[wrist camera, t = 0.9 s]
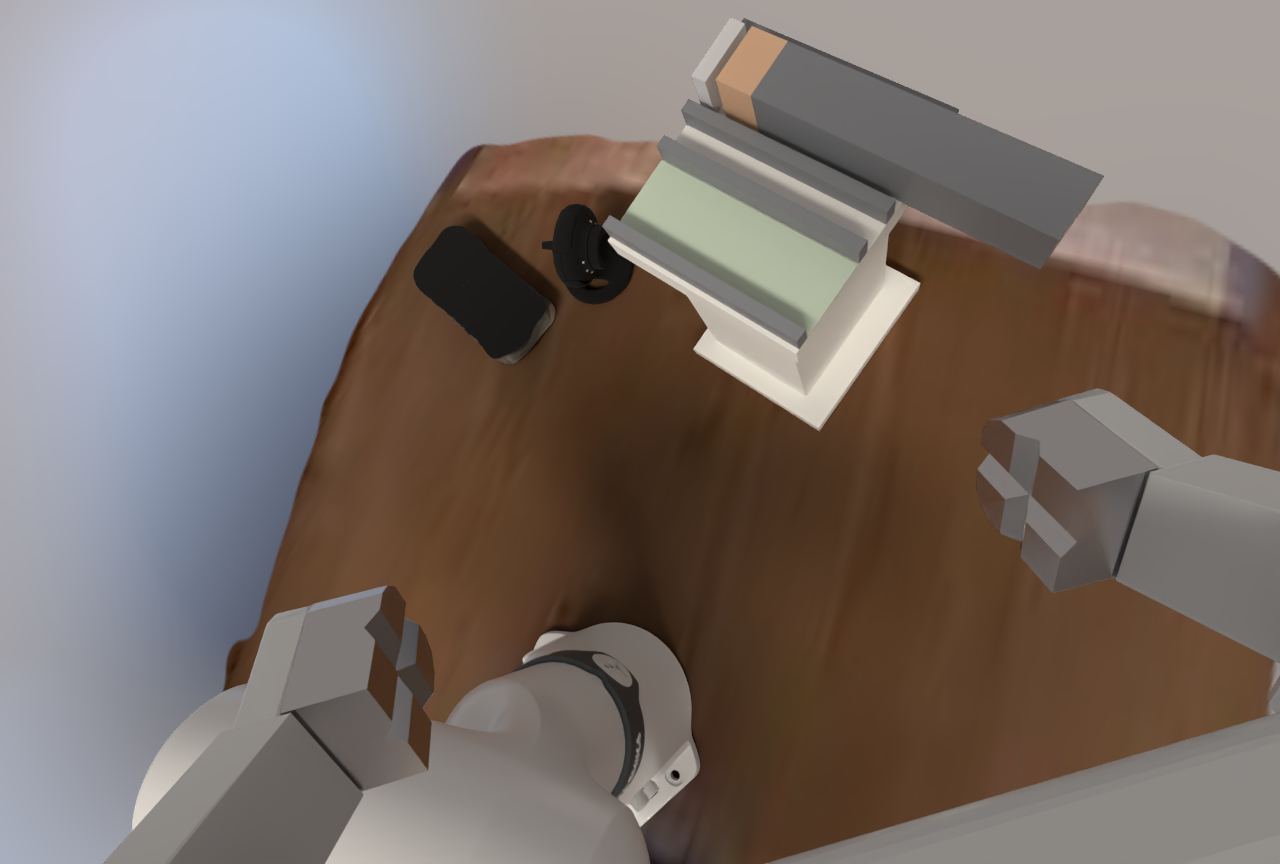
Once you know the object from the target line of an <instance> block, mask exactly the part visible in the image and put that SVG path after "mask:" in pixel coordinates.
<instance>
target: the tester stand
mask: <svg viewBox="0 0 1280 864" xmlns="http://www.w3.org/2000/svg"><path fill="white" fill-rule="evenodd" d="M752 26H753V27H756V28H758V29H760V30H763V31H765V32H767V33H770V34H772V35H775V36H777V37H779V38H782V39H784V40H786V41H789V42H791V43H793V44H796V45H798V46H800V47H803V48H805V49H807V50H810V51H812V52H814V53H817V54H819V55H821V56H824V57H826V58H828V59H831V60H833V61H835V62H838V63H840V64H843V65H845V66H847V67H850V68H852V69H854V70H857V71H859V72H861V73H864V74H866V75H868V76H871V77H873V78H875V79H878V80H880V81H882V82H885V83H887V84H889V85H892V86H894V87H896V88H899V89H901V90H904V91H906V92H908V93H911V94H913V95H915V96H918V97H920V98H922V99H925V100H927V101H929V102H932V103H934V104H936V105H939V106H941V107H943V108H946V109H948V110H950V111H953V112H955V113H957V114H958V111H959V109H957V108H955V107H952V106H950V105H948V104H945V103H943V102H941V101H938V100H936V99H933V98H931V97H929V96H926V95H924V94H922V93H919V92H917V91H915V90H912V89H910V88H908V87H905V86H903V85H900V84H898V83H896V82H893V81H891V80H889V79H886V78H884V77H881V76H879V75H877V74H874V73H872V72H870V71H867V70H865V69H862V68H860V67H858V66H856V65H853V64H851V63H848V62H846V61H844V60H841V59H839V58H837V57H834V56H832V55H830V54H827V53H825V52H822V51H820V50H818V49H815V48H813V47H811V46H808V45H806V44H803V43H801V42H799V41H797V40H794V39H792V38H790V37H787V36H785V35H782V34H780V33H777V32H775V31H773V30H771V29H768V28H766V27H763V26H761V25H759V24H756V23H754V22H752V21H749V20H747V19H745V18H744V19H743V20H742V22H740V21H737V20H735V19H732V18H730V20H729V21H728V22H727V24H726V25H725V27H724V28H723V30H722V31H721V33H720V34H719V35H718V37H717V39H716V40H715V41H714V43H713V44H712V46H711V47H710V49H709V50H708V52H707V53H706V55H705V56H704V58H703V59H702V61H701V62H700V63H699V65H698V66H697V68H696V69H695V71H694V72H693V74H692V75H691V77H692V80H693V83H694V85H695V88H696V91H697V94H698V97H699V100H700V103H701V104H698V103H696V102H694V101H692V100H689V99H688V101H687V102H686V104H685V105H684V107H683V108H682V110H681V111H682V114H683V116H684V119H685V121H686V124H687V125H686V127H685V128H684V129H683V131H682V132H681V134H680V136H679V137H678V138H677V140H676V141H674V140H672V139H670V138H669V137H667V136H665V135H664V136H663V138H662V139H661V140H660V142H659V143H658V145H657V148H658V150H659V152H660V154H661V156H662V158H663V160H661V162H660V163H659V165H658V166H657V168H656V169H655V170H654V172H653V173H652V175H651V176H650V178H649V179H648V181H647V182H646V184H645V185H644V187H643V188H642V190H641V191H640V192H639V194H638V195H637V197H636V198H635V200H634V201H633V203H632V204H631V206H630V207H629V209H628V210H627V212H626V213H625V214H624V216H623V217H622V219H621V220H620V221H619V220H617V219H615V218H614V217H612V216H610V215H609V217H608V218H607V220H606V221H605V223H604V224H603V226H602V227H603V228H604V229H605V230H606V232H607V233H608V234H609V236H610V238H609V239H608V242H609V243H610V244H611V246H612V247H613V248H614V249H615V251H616V252H617V253H618V254H619V255H621V256H623V257H624V258H626V259H628V260H629V261H631V262H633V263H634V264H636V265H637V266H639V267H641V268H642V269H644V270H646V271H647V272H649V273H651V274H652V275H654V276H656V277H657V278H659V279H661V280H662V281H664V282H666V283H667V284H669V285H671V286H672V287H674V288H676V289H677V290H679V291H680V292H682V293H684V294H685V295H687V297H688V298H689V300H690V301H691V303H692V304H693V306H694V307H695V309H696V310H697V312H698V313H699V315H700V316H701V318H702V319H703V321H704V323H705V324H706V326H707V327H708V329H707V330H706V332H705V333H704V334H703V336H702V337H701V339H700V340H699V342H698V343H697V345H696V346H695V347H694V350H695V352H696V353H697V354H699V355H700V356H702V357H703V358H705V359H707V360H708V361H710V362H711V363H713V364H714V365H716V366H718V367H719V368H721V369H722V370H724V371H725V372H727V373H729V374H730V375H732V376H733V377H735V378H736V379H738V380H740V381H741V382H743V383H744V384H746V385H747V386H749V387H751V388H752V389H754V390H755V391H757V392H758V393H760V394H762V395H763V396H765V397H766V398H768V399H769V400H771V401H773V402H774V403H776V404H777V405H779V406H780V407H782V408H784V409H785V410H787V411H788V412H790V413H791V414H793V415H795V416H796V417H798V418H799V419H801V420H802V421H804V422H806V423H807V424H809V425H810V426H812V427H813V428H815V429H817V430H818V431H820V430H821V428H822V427H823V425H824V424H825V423H826V421H827V420H828V418H829V417H830V415H831V414H832V413H833V411H834V410H835V408H836V407H837V405H838V404H839V403H840V401H841V400H842V398H843V397H844V395H845V394H846V393H847V391H848V390H849V388H850V387H851V385H852V384H853V383H854V381H855V380H856V378H857V377H858V375H859V374H860V373H861V371H862V370H863V368H864V367H865V365H866V364H867V363H868V361H869V360H870V358H871V357H872V355H873V354H874V353H875V351H876V350H877V348H878V347H879V345H880V344H881V343H882V341H883V340H884V338H885V337H886V335H887V334H888V333H889V331H890V330H891V328H892V327H893V325H894V324H895V323H896V321H897V320H898V318H899V317H900V315H901V314H902V313H903V311H904V310H905V308H906V307H907V305H908V304H909V303H910V301H911V300H912V298H913V297H914V295H915V294H916V293H917V291H918V290H919V287H920V283H919V282H917V281H915V280H913V279H912V278H910V277H908V276H906V275H904V274H902V273H900V272H898V271H896V270H894V269H892V268H891V267H889V266H887V265H886V256H887V246H888V236H889V233H890V232H891V230H892V229H893V228H894V226H895V225H896V223H897V222H898V220H899V219H900V217H901V216H902V215H903V213H904V212H905V210H906V209H907V207H908V205H906V204H904V203H902V202H900V201H898V200H896V199H894V198H892V197H890V196H888V195H886V194H884V193H882V192H880V191H877V190H875V189H873V188H871V187H869V186H867V185H865V184H863V183H861V182H859V181H857V180H855V179H853V178H851V177H849V176H847V175H845V174H843V173H840V172H838V171H836V170H834V169H832V168H830V167H828V166H826V165H824V164H822V163H820V162H818V161H816V160H814V159H812V158H810V157H808V156H805V155H803V154H801V153H799V152H797V151H795V150H793V149H791V148H789V147H787V146H785V145H783V144H781V143H779V142H777V141H775V140H773V139H771V138H768V137H766V136H764V135H762V134H760V133H758V132H756V131H754V130H752V129H750V128H748V127H746V126H744V125H742V124H740V123H738V122H736V121H734V120H731V119H729V118H727V117H726V113H725V110H724V107H723V103H722V100H721V97H720V93H719V90H718V86H717V83H716V80H715V79H716V78H717V77H718V75H719V74H720V72H721V71H722V69H723V68H724V66H725V65H726V63H727V62H728V60H729V59H730V57H731V56H732V55H733V53H734V52H735V50H736V49H737V47H738V46H739V44H740V43H741V41H742V40H743V38H744V37H745V35H746V34H747V33H748V31H749V30H750V28H751V27H752Z"/></svg>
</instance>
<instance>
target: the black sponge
mask: <svg viewBox="0 0 1280 864" xmlns="http://www.w3.org/2000/svg"><path fill="white" fill-rule="evenodd" d="M414 280H415V283H416V285H417V287H418V288H419V289H420V290H421V291H422V292H423V293H424V294H425V295H426V296H428V297H429V298H430V299H432V301H433V302H434V303H435V304H436V305H437V306H439V307H440V308H441V309H442V310H443V311H444V312H445V313H446V314H448V315H449V316H450V317H451V318H452V319H453V320H454V321H455V322H456V323H457V324H458V325H460V326H461V327H462V328H463V329H464V330H465V331H466V332H467V333H468V334H469V335H470V336H471V337H472V338H474V339H475V340H476V341H477V342H478V343H479V344H480V345H481V346H482V347H483V348H484V349H485V351H486V352H487V354H488V355H489V356H490V357H492V358H493V359H495V360H496V361H498V362H501V363H503V364H507V365H512V364H514V363H516V362H518V361H519V360H520V359H521V358H522V357H523V356H524V355H525V354H527V353H528V352H529V350H530V349H531V348H532V347H533V346H534V344H535V343H536V342H537V341H538V339H539V338H540V337H541V336H542V334H543V333H544V332H545V331H546V330H547V329H548V328H549V326H550V325H551V324H552V322H553V321H554V318H555V313H556V312H555V307H554V306H553V304H552V303H551V301H550V300H548V299H547V298H545V297H544V296H542V295H541V294H539V293H538V292H537V291H536V290H535V289H534V288H532V287H531V286H530V285H529V284H528V283H526V282H525V281H524V280H523V279H522V278H521V277H520V276H519V275H517V274H516V273H515V272H514V271H513V270H511V269H510V268H509V267H508V266H507V265H505V264H504V263H503V262H502V261H501V260H500V259H499V258H498V257H496V256H495V255H494V254H493V253H492V252H490V251H489V250H488V249H487V248H486V247H485V246H484V243H483V242H482V241H481V239H480V238H479V237H478V236H477V235H475V234H473V233H471V232H469V231H468V230H466V229H465V228H463V227H462V226H451V227H448V228H446V229H444V230H443V231H442V232H441V234H440V235H439V237H438V238H437V240H436V241H435V242H434V244H433V245H432V246H431V247H430V248H429V249H428V251H427V252H426V253H425V254H424V255H423V257H422V258H421V259H420V261H419V263H418V264H417V266H416V268H415V270H414Z"/></svg>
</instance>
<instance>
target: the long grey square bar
mask: <svg viewBox="0 0 1280 864" xmlns="http://www.w3.org/2000/svg"><path fill="white" fill-rule="evenodd" d="M715 80H716V83H717V86H718V90H719V93H720V97H721V100H722V103H723V107H724V110H725V113H726V117H727V118H729V119H731V120H734V121H736V122H738V123H740V124H742V125H744V126H746V127H748V128H750V129H752V130H754V131H756V132H758V133H760V134H762V135H764V136H766V137H768V138H771V139H773V140H775V141H777V142H779V143H781V144H783V145H785V146H787V147H789V148H791V149H793V150H795V151H797V152H799V153H801V154H803V155H805V156H808V157H810V158H812V159H814V160H816V161H818V162H820V163H822V164H824V165H826V166H828V167H830V168H832V169H834V170H836V171H838V172H840V173H843V174H845V175H847V176H849V177H851V178H853V179H855V180H857V181H859V182H861V183H863V184H865V185H867V186H869V187H871V188H873V189H875V190H877V191H880V192H882V193H884V194H886V195H888V196H890V197H892V198H894V199H896V200H898V201H900V202H902V203H904V204H906V205H908V206H910V207H912V208H914V209H917V210H919V211H921V212H923V213H925V214H927V215H929V216H931V217H933V218H935V219H937V220H939V221H941V222H943V223H945V224H947V225H949V226H952V227H954V228H956V229H958V230H960V231H962V232H964V233H966V234H968V235H970V236H972V237H974V238H976V239H978V240H980V241H982V242H984V243H986V244H989V245H991V246H993V247H995V248H997V249H999V250H1001V251H1003V252H1005V253H1007V254H1009V255H1011V256H1013V257H1015V258H1017V259H1019V260H1021V261H1024V262H1026V263H1028V264H1030V265H1032V266H1034V267H1036V268H1038V269H1041V268H1042V266H1043V265H1044V263H1045V262H1046V261H1047V259H1048V258H1049V256H1050V255H1051V253H1052V252H1053V251H1054V249H1055V248H1056V246H1057V245H1058V244H1059V242H1060V241H1061V239H1062V238H1063V236H1064V235H1065V234H1066V232H1067V231H1068V229H1069V228H1070V227H1071V225H1072V224H1073V222H1074V221H1075V219H1076V218H1077V217H1078V215H1079V214H1080V212H1081V211H1082V209H1083V208H1084V206H1085V205H1086V203H1087V202H1088V200H1089V199H1090V197H1091V196H1092V194H1093V193H1094V191H1095V189H1096V188H1097V186H1098V185H1099V183H1100V182H1101V180H1102V179H1103V177H1104V176H1103V175H1101V174H1098V173H1096V172H1093V171H1091V170H1089V169H1086V168H1084V167H1082V166H1079V165H1077V164H1075V163H1072V162H1070V161H1068V160H1065V159H1063V158H1061V157H1058V156H1056V155H1054V154H1051V153H1049V152H1047V151H1044V150H1042V149H1040V148H1037V147H1035V146H1032V145H1030V144H1028V143H1026V142H1023V141H1021V140H1018V139H1016V138H1014V137H1011V136H1009V135H1007V134H1004V133H1002V132H999V131H997V130H995V129H993V128H990V127H988V126H985V125H983V124H981V123H978V122H976V121H974V120H972V119H969V118H967V117H964V116H962V115H960V114H957V113H955V112H953V111H950V110H948V109H946V108H943V107H941V106H939V105H936V104H934V103H932V102H929V101H927V100H925V99H922V98H920V97H918V96H915V95H913V94H911V93H908V92H906V91H904V90H901V89H899V88H896V87H894V86H892V85H889V84H887V83H885V82H882V81H880V80H878V79H875V78H873V77H871V76H868V75H866V74H864V73H861V72H859V71H857V70H854V69H852V68H850V67H847V66H845V65H843V64H840V63H838V62H835V61H833V60H831V59H828V58H826V57H824V56H821V55H819V54H817V53H814V52H812V51H810V50H807V49H805V48H803V47H800V46H798V45H796V44H793V43H791V42H789V41H786V40H784V39H782V38H779V37H777V36H775V35H772V34H770V33H767V32H765V31H763V30H760V29H758V28H756V27H753V26H752V27H751V28H750V30H749V31H748V33H747V34H746V35H745V37H744V38H743V40H742V41H741V43H740V44H739V46H738V47H737V49H736V50H735V52H734V53H733V55H732V56H731V57H730V59H729V60H728V62H727V63H726V65H725V66H724V68H723V69H722V71H721V72H720V74H719V75H718V77H717V78H716V79H715Z"/></svg>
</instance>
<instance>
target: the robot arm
mask: <svg viewBox="0 0 1280 864" xmlns="http://www.w3.org/2000/svg"><path fill="white" fill-rule="evenodd" d="M981 445H982V446H983V447H984V448H985V449H986V450H987V451H988V452H989V453H990V454H989V455H988V456H987V458H986V459H985V460H984V461H983V463H982V464H981V465H980V467H979V468H978V469H977V481H976V490H977V493H978V497H979V501H980V505H981V507H982V509H983V511H984V513H985V514H986V516H987V518H988V520H989V521H990V522H991V523H992V525H993V526H994V527H995V528H996V529H997V531H998V532H999V533H1000V534H1003V535H1005V536H1008V537H1010V538H1013V539H1015V540H1018V541H1020V542H1021V549H1020V557H1021V558H1022V559H1023V560H1024V562H1025V563H1026V564H1027V565H1028V566H1029V567H1030V568H1031V569H1032V571H1033V572H1034V573H1035V574H1036V575H1037V576H1038V577H1039V578H1040V580H1041V581H1042V582H1043V583H1044V584H1045V585H1046V586H1047V587H1048V589H1049V590H1050V591H1051V592H1052V593H1055V592H1059V591H1063V590H1067V589H1071V588H1075V587H1079V586H1083V585H1086V584H1090V583H1094V582H1098V581H1102V580H1106V579H1110V578H1114V577H1116V581H1118V582H1120V583H1122V584H1124V585H1126V586H1128V587H1130V588H1132V589H1134V590H1136V591H1138V592H1140V593H1142V594H1144V595H1146V596H1148V597H1150V598H1152V599H1154V600H1155V601H1157V602H1159V603H1161V604H1163V605H1165V606H1167V607H1169V608H1171V609H1173V610H1175V611H1177V612H1179V613H1181V614H1183V615H1185V616H1187V617H1189V618H1191V619H1193V620H1195V621H1197V622H1199V623H1201V624H1203V625H1205V626H1207V627H1209V628H1211V629H1213V630H1215V631H1217V632H1219V633H1221V634H1223V635H1225V636H1227V637H1229V638H1231V639H1233V640H1235V641H1237V642H1239V643H1241V644H1243V645H1245V646H1247V647H1248V648H1250V649H1252V650H1254V651H1256V652H1258V653H1260V654H1262V655H1264V656H1266V657H1268V658H1270V659H1272V660H1274V661H1276V662H1278V663H1280V472H1278V471H1274V470H1271V469H1267V468H1263V467H1259V466H1255V465H1252V464H1248V463H1244V462H1240V461H1237V460H1233V459H1229V458H1225V457H1222V456H1218V455H1210V456H1206V457H1201V456H1199V455H1198V454H1196V453H1195V452H1194V451H1192V450H1191V449H1189V448H1188V447H1187V446H1185V445H1184V444H1182V443H1181V442H1180V441H1178V440H1177V439H1175V438H1174V437H1173V436H1171V435H1170V434H1168V433H1167V432H1166V431H1164V430H1163V429H1161V428H1160V427H1159V426H1157V425H1156V424H1154V423H1153V422H1151V421H1150V420H1149V419H1147V418H1146V417H1144V416H1143V415H1142V414H1140V413H1139V412H1137V411H1136V410H1135V409H1133V408H1132V407H1130V406H1129V405H1128V404H1126V403H1125V402H1123V401H1122V400H1121V399H1119V398H1118V397H1116V396H1115V395H1114V394H1112V393H1111V392H1108V391H1105V390H1101V389H1094V390H1090V391H1087V392H1083V393H1080V394H1077V395H1073V396H1070V397H1066V398H1063V399H1060V400H1059V401H1054V402H1050V403H1047V404H1043V405H1040V406H1036V407H1032V408H1029V409H1025V410H1022V411H1018V412H1015V413H1011V414H1008V415H1004V416H1001V417H997V418H994V419H990V420H988V422H987V423H986V425H985V426H984V428H983V430H982V437H981ZM405 607H406V602H405V601H404V599H403V598H402V596H401V595H400V593H399V592H398V590H397V589H396V587H394V586H383V587H379V588H375V589H371V590H367V591H363V592H359V593H355V594H351V595H347V596H343V597H339V598H335V599H331V600H327V601H323V602H319V603H315V604H314V605H312V606H308V607H303V608H299V609H295V610H291V611H287V612H283V613H278V614H276V615H275V616H274V617H273V618H272V619H271V620H270V621H269V622H268V623H267V625H266V628H265V631H264V635H263V638H262V641H261V644H260V647H259V650H258V653H257V656H256V659H255V663H254V666H253V669H252V672H251V675H250V678H249V681H248V684H244V685H240V686H237V687H234V688H231V689H229V690H226V691H224V692H222V693H220V694H219V695H217V696H215V697H213V698H212V699H210V700H209V701H207V702H206V703H205V704H203V705H202V706H201V707H199V708H198V709H197V710H196V711H195V712H193V713H192V714H191V715H190V716H189V717H187V718H186V719H185V720H184V721H183V722H182V723H181V724H180V725H179V727H178V728H177V729H176V730H175V731H174V732H173V733H172V735H170V737H169V738H168V739H167V741H166V742H165V743H164V745H163V746H162V747H161V749H160V750H159V752H158V753H157V755H156V757H155V758H154V760H153V761H152V763H151V765H150V767H149V769H148V771H147V773H146V775H145V778H144V781H143V784H142V786H141V788H140V791H139V794H138V797H137V801H136V804H135V809H134V814H133V822H132V832H131V833H130V834H129V835H128V836H127V837H126V839H125V840H124V841H123V842H122V843H121V844H120V845H119V846H118V848H117V849H116V850H115V851H114V852H113V853H112V854H111V855H110V857H108V859H107V860H106V861H105V862H104V863H103V864H650V859H649V855H648V851H647V847H646V843H645V840H644V837H643V834H642V831H641V829H640V827H641V826H643V825H644V824H645V823H646V822H647V821H648V820H649V819H650V818H651V817H652V816H653V815H654V814H656V813H657V812H658V811H659V810H660V809H661V808H662V807H663V806H664V805H665V804H666V803H668V802H669V801H670V800H671V799H672V798H673V797H674V796H675V795H676V794H677V793H678V792H680V791H681V790H682V789H683V788H684V787H685V786H686V785H687V784H688V783H689V782H690V781H691V780H693V779H694V778H695V777H696V776H697V774H698V772H699V770H700V760H699V756H698V752H697V749H696V746H695V743H694V740H693V738H692V733H691V712H692V707H691V696H690V690H689V686H688V682H687V679H686V676H685V674H684V672H683V669H682V667H681V665H680V664H679V662H678V660H677V659H676V657H675V656H674V654H673V653H672V652H671V651H670V649H669V648H668V647H667V646H666V645H665V644H664V643H663V642H662V641H661V640H659V639H658V638H657V637H656V636H654V635H653V634H651V633H649V632H648V631H646V630H644V629H642V628H639V627H637V626H634V625H630V624H625V623H616V622H612V623H602V624H597V625H594V626H591V627H588V628H586V629H583V630H580V631H577V632H566V631H549V632H547V633H545V634H543V635H542V636H540V638H539V639H538V641H537V643H536V645H535V647H534V650H533V651H531V652H529V653H527V654H526V655H525V656H524V657H523V664H522V665H521V666H520V667H518V668H517V669H515V670H514V671H513V672H512V673H510V674H507V675H504V676H501V677H498V678H495V679H492V680H489V681H487V682H484V683H482V684H480V685H478V686H477V687H475V688H474V689H472V690H471V691H470V692H468V693H467V694H466V695H465V696H464V697H463V698H462V699H461V700H460V702H459V703H458V704H457V705H456V707H455V708H454V709H453V711H452V712H451V714H450V715H449V717H448V719H447V720H446V722H445V723H441V722H438V721H430V719H429V718H428V716H427V715H426V713H425V712H424V710H423V709H422V708H423V707H424V706H425V704H426V703H427V701H428V700H429V698H430V697H431V695H432V694H433V692H434V674H435V672H434V666H433V659H432V652H431V649H430V646H429V643H428V640H427V638H426V635H425V634H424V632H423V630H422V628H421V627H420V625H419V624H418V623H415V622H413V621H411V620H408V619H406V618H404V616H405ZM1268 705H1269V706H1270V707H1271V708H1272V709H1273V710H1274V711H1275V712H1276V714H1272V715H1269V716H1265V717H1262V718H1258V719H1255V720H1252V721H1248V722H1245V723H1241V724H1238V725H1235V726H1231V727H1228V728H1224V729H1221V730H1218V731H1214V732H1211V733H1207V734H1204V735H1200V736H1197V737H1194V738H1190V739H1187V740H1183V741H1180V742H1177V743H1173V744H1170V745H1166V746H1163V747H1160V748H1156V749H1153V750H1149V751H1146V752H1143V753H1139V754H1136V755H1132V756H1129V757H1126V758H1122V759H1119V760H1115V761H1112V762H1109V763H1105V764H1102V765H1098V766H1095V767H1092V768H1088V769H1085V770H1081V771H1078V772H1075V773H1071V774H1068V775H1064V776H1061V777H1058V778H1054V779H1051V780H1047V781H1044V782H1041V783H1037V784H1034V785H1030V786H1027V787H1023V788H1020V789H1017V790H1013V791H1010V792H1006V793H1003V794H1000V795H996V796H993V797H989V798H986V799H983V800H979V801H976V802H972V803H969V804H966V805H962V806H959V807H955V808H952V809H949V810H945V811H942V812H938V813H935V814H932V815H928V816H925V817H921V818H918V819H915V820H911V821H908V822H904V823H901V824H898V825H894V826H891V827H888V828H884V829H881V830H877V831H874V832H871V833H867V834H864V835H860V836H857V837H854V838H850V839H847V840H843V841H840V842H837V843H833V844H830V845H826V846H823V847H820V848H816V849H813V850H809V851H806V852H803V853H799V854H796V855H792V856H789V857H786V858H782V859H779V860H775V861H772V862H769V863H765V864H1280V677H1279V678H1278V680H1277V681H1276V683H1275V685H1274V686H1273V688H1272V690H1271V691H1270V694H1269V702H1268ZM673 770H677V771H678V772H679V774H680V778H675V777H674V776H673V774H672V771H673Z"/></svg>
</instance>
